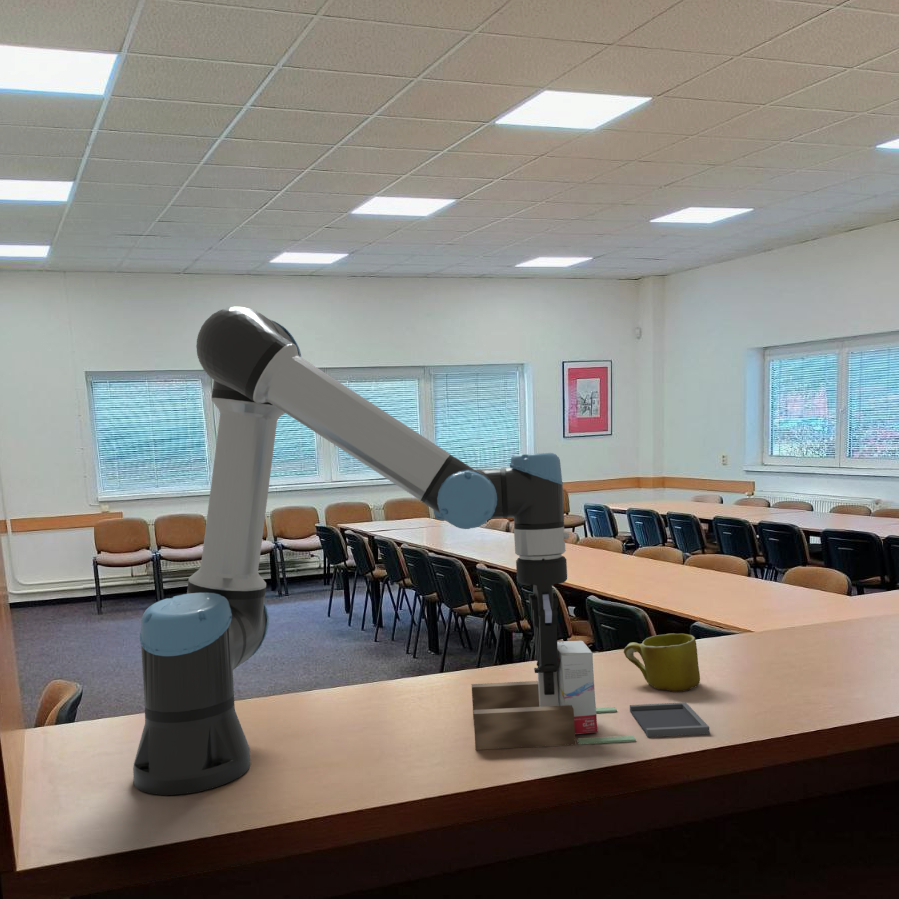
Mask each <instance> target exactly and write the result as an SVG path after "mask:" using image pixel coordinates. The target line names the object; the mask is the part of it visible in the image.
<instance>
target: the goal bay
mask: <svg viewBox="0 0 899 899" xmlns="http://www.w3.org/2000/svg"><path fill="white" fill-rule="evenodd" d="M617 712H618V710H617V708H616V707H614V706H613V707H611V706H610V707H596V714H605V713H617ZM576 742H577V743H578V745H590V744H591V745H592V744H593V745H594V744H615V743H633V742H634V743H636V742H637V739H636V737H635V736H634V735H624V736H622V735H621V736H601V737H599V736H598V737H582V738H581V737H579V738H576Z"/></svg>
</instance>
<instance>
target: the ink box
mask: <svg viewBox="0 0 899 899" xmlns="http://www.w3.org/2000/svg"><path fill="white" fill-rule="evenodd" d="M557 653H558V666H559V668H558V671H557V687H558V705H559V706H565V705H572V707H573V709H574V727H575V735H581V734H583V735H584V734H593V733H598V719H597V713H596V708H597V707H596V706H597V705H596V704H597V703H596V691H595V690H596V689H595V677H594V676H595V675H594V663H593V662H594V661H593V660H594V659H593V658H594V656H593V651H592V650H591V649H590V648H589V647H588V646H587V644H586V643H585V642H584V641H583V640H566V641H564V640H561V641H560V640H559V641H558V640H557Z"/></svg>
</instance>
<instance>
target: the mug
mask: <svg viewBox="0 0 899 899" xmlns="http://www.w3.org/2000/svg"><path fill="white" fill-rule="evenodd" d="M634 653H637V654H639V656H640V657H641V660H642V662H643V663H642V662H640V660H639V659H638V657H636V656H635V655H634ZM623 654H624V656H625V658H627V660H628V661H629V662H630V663H631V664H633V665H635V666H636V667H637V668H638V669H639V670H640V672H641V673H642V676H643V678H644V680H645V681H646V682H647V683H648V685H651V687H652V688H654V689H656V690H660V691H669V692H673V693H674V692H675V693H680V692H686V691H690V690H691V689H693V688H696V687H698V686H699V684H700V683H701V676H700V675H701V674H700V669H699V658H698V647H697V641H696V637H695V636H694V635H692V634H688V633H666V634H665V633H664V634H658V635H653V636H649V637H646V638H645V639H644V640H643V641H642V643H638V642H629V643H628V644H627V645H626V646H625V647H624V649H623Z"/></svg>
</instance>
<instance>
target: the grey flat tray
mask: <svg viewBox="0 0 899 899" xmlns="http://www.w3.org/2000/svg"><path fill="white" fill-rule="evenodd" d="M694 710H695V709H693V708H692V707H691V706H690V705H689V704H688V703H687V702H683V701H681V702H667V703H665V702H663V703H648V704H647V703H646V704H645V703H644V704H630V705H629V713H630V714H631V715H632V716H633V718H634V720H635V721H636V722H637V724H638V726H639V727H640V728H641V730H642V731H643V732H644V734H645V735H646V738H655V737H656V738H659V737H675V736H677V737H678V736H695V735H696V736H697V735H711V734H710V726H709V725H708V724H707V723H706V722H705V721H704V720H703V719H702V717H700V715H699V714H698V713H697V712H696V711H694Z"/></svg>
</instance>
